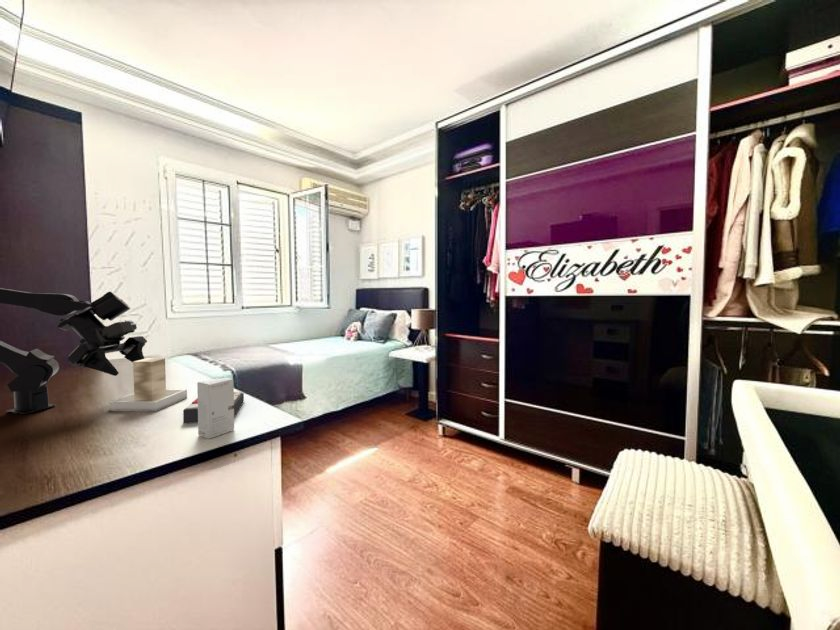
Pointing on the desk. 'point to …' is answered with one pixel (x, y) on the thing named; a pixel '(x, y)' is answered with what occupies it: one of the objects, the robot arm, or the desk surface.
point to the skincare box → (215, 407)
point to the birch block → (149, 379)
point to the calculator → (192, 410)
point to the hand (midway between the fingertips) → (132, 370)
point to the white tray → (131, 405)
